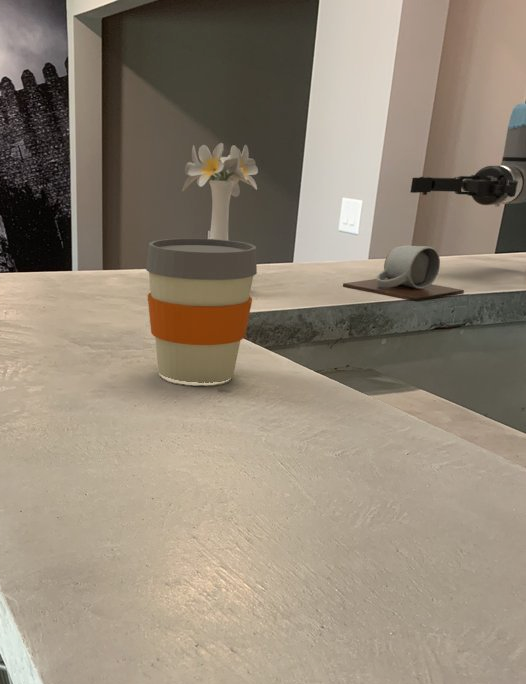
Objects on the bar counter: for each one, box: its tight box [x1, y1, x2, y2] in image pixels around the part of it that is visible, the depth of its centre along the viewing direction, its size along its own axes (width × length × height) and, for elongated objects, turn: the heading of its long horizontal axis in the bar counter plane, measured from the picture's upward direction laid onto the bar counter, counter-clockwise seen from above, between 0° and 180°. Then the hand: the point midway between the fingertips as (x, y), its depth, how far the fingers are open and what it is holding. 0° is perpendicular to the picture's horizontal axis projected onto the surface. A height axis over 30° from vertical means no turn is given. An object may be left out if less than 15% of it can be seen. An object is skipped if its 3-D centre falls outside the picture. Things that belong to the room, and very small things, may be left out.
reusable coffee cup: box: [145, 237, 258, 387], centre depth 89 cm, size 12×13×15 cm
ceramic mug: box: [376, 244, 441, 289], centre depth 146 cm, size 11×8×8 cm
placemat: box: [342, 277, 465, 302], centre depth 148 cm, size 17×15×1 cm
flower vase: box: [181, 142, 259, 240], centre depth 137 cm, size 13×18×25 cm
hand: (445, 187), depth 146 cm, fingers open, 13 cm apart
